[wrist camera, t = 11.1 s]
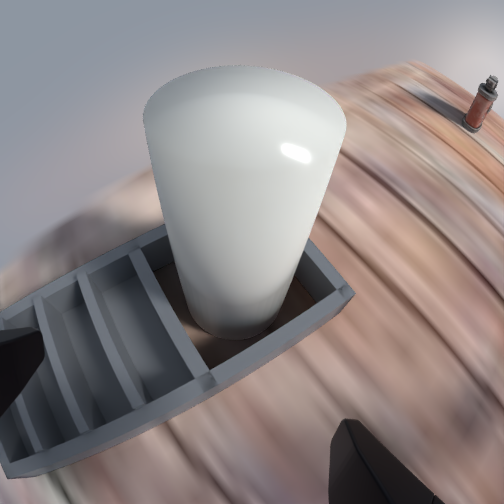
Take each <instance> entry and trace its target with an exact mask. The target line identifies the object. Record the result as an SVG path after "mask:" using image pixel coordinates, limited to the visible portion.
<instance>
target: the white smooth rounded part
mask: <svg viewBox="0 0 504 504" xmlns="http://www.w3.org/2000/svg"><path fill="white" fill-rule="evenodd" d="M143 122H144V128H145V133H146V139H147V144H148V148H149V154H150V159H151V164H152V169H153V173H154V178H155V183H156V187H157V192H158V196H159V200H160V205H161V209H162V213H163V217H164V221H165V225H166V229H167V233H168V237H169V241H170V245H171V249H172V253H173V256H174V260H175V264H176V267H177V271H178V275H179V278H180V282H181V285H182V289H183V292H184V296H185V299H186V302H187V306H188V309H189V311H190V314H191V315H192V317H193V319H194V320H195V322H196V323H197V324H198V325H199V326H200V327H201V328H202V329H204V330H205V331H206V332H208V333H210V334H211V335H214V336H216V337H219V338H223V339H228V340H241V339H247V338H251V337H253V336H256V335H258V334H260V333H261V332H263V331H264V330H266V329H267V328H268V327H269V326H270V325H271V324H272V323H273V322H274V320H275V319H276V317H277V315H278V313H279V311H280V308H281V306H282V303H283V301H284V299H285V296H286V294H287V291H288V289H289V286H290V284H291V281H292V279H293V276H294V273H295V271H296V268H297V266H298V263H299V261H300V258H301V256H302V253H303V250H304V248H305V245H306V242H307V240H308V237H309V234H310V232H311V229H312V226H313V224H314V221H315V218H316V216H317V213H318V210H319V207H320V205H321V202H322V199H323V196H324V194H325V191H326V188H327V185H328V182H329V179H330V177H331V174H332V171H333V168H334V165H335V162H336V159H337V156H338V153H339V150H340V147H341V144H342V141H343V138H344V135H345V132H346V119H345V115H344V113H343V111H342V109H341V107H340V106H339V104H338V103H337V102H336V101H335V100H334V99H333V98H332V97H331V96H330V95H329V94H328V93H327V92H325V91H324V90H323V89H321V88H320V87H318V86H317V85H315V84H313V83H311V82H309V81H307V80H305V79H303V78H301V77H298V76H295V75H293V74H289V73H286V72H283V71H279V70H275V69H270V68H264V67H256V66H240V65H238V66H219V67H212V68H206V69H202V70H197V71H194V72H191V73H188V74H185V75H183V76H180V77H178V78H175V79H173V80H172V81H170V82H168V83H167V84H165V85H163V86H162V87H161V88H159V89H158V90H157V91H156V92H155V93H154V94H153V95H152V96H151V97H150V99H149V100H148V102H147V104H146V106H145V108H144V113H143Z"/></svg>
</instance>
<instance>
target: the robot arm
mask: <svg viewBox="0 0 504 504" xmlns="http://www.w3.org/2000/svg"><path fill="white" fill-rule="evenodd" d="M44 357H45V350H44V342H43V335H42V333H41V331H39V330H37V329H35V328H34V327H24V328H16V329H7V330H0V418H1V417H2V415H3V414H4V413H5V412H6V410H7V409H8V408H9V407H10V405H11V404H12V403H13V402H14V401H15V399H16V398H17V397H18V396H19V395H20V393H21V392H22V391H23V389H24V388H25V386H26V385H27V383H28V382H29V380H30V379H31V377H32V376H33V374H34V373H35V372H36V370H37V369H38V367H39V366H40V364H41V363H42V362H43V360H44ZM328 494H329V504H445V503H444V502H443V501H442V500H440V499H439V498H438V497H437V496H436V495H434V493H433V492H432V491H431V490H430V489H428V488H427V487H426V486H425V485H424V484H423V483H422V482H421V481H420V480H419V479H418V478H417V477H416V476H415V475H414V474H413V473H412V472H410V471H409V470H408V469H407V468H406V467H405V466H404V465H403V464H402V463H401V462H400V461H399V460H398V459H397V458H396V457H395V456H394V455H393V454H392V453H391V452H390V451H389V450H388V449H387V448H386V447H385V446H384V445H383V444H382V443H381V442H380V441H379V440H378V439H377V438H376V437H375V436H374V435H373V434H372V433H371V432H370V431H369V430H368V429H367V428H366V427H365V426H364V425H363V424H362V423H361V422H360V421H359V420H356V419H343V420H342V421H341V423H340V425H339V427H338V429H337V431H336V432H335V434H334V436H333V438H332V441H331V446H330V468H329V487H328Z"/></svg>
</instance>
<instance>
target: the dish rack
mask: <svg viewBox="0 0 504 504" xmlns="http://www.w3.org/2000/svg"><path fill="white" fill-rule="evenodd" d="M173 261H175V260H174V256H173V253H172V249H171V245H170V241H169V237H168V233H167V229H166V225H165V224H164V225H162V226H160V227H157V228H155V229H153V230H151V231H149V232H147V233H145V234H143V235H141V236H139V237H137V238H135V239H133V240H131V241H129V242H127V243H125V244H123V245H121V246H119V247H117V248H115V249H113V250H111V251H109V252H107V253H105V254H103V255H101V256H99V257H97V258H95V259H93V260H92V261H90V262H88V263H86V264H84V265H82V266H80V267H78V268H76V269H75V270H73V271H71V272H69V273H67V274H65V275H64V276H62V277H60V278H58V279H56V280H54V281H53V282H51V283H49V284H47V285H46V286H44V287H42V288H40V289H39V290H37V291H35V292H33V293H32V294H30V295H28V296H26V297H25V298H23V299H21V300H20V301H18V302H16V303H14V304H13V305H11V306H9V307H8V308H6V309H5V310H3V311H1V312H0V330H7V329H16V328H24V327H34V328H35V329H37V330H39V331H41V333H42V335H43V342H44V350H45V357H44V360H43V362H42V363H41V364H40V366H39V367H38V369H37V370H36V372H35V373H34V374H33V376H32V377H31V379H30V380H29V382H28V383H27V385H26V386H25V388H24V389H23V391H22V392H21V393H20V395H19V396H18V397H17V398H16V399H15V401H14V402H13V403H12V404H11V405H10V407H9V408H8V409H7V410H6V412H5V413H4V414H3V415H2V417H1V418H0V463H1V466H2V468H3V470H4V472H5V475H6V477H7V479H16V478H28V477H36V476H39V475H42V474H45V473H47V472H50V471H53V470H56V469H59V468H61V467H64V466H67V465H69V464H72V463H75V462H77V461H80V460H82V459H85V458H87V457H90V456H92V455H94V454H97V453H99V452H101V451H104V450H106V449H108V448H111V447H113V446H115V445H117V444H120V443H122V442H124V441H126V440H128V439H131V438H133V437H135V436H137V435H139V434H141V433H143V432H145V431H147V430H149V429H151V428H153V427H155V426H157V425H159V424H161V423H163V422H165V421H167V420H169V419H171V418H173V417H175V416H177V415H179V414H181V413H183V412H184V411H186V410H188V409H190V408H192V407H194V406H195V405H197V404H199V403H201V402H203V401H204V400H206V399H208V398H210V397H212V396H213V395H215V394H217V393H219V392H220V391H222V390H224V389H225V388H227V387H229V386H230V385H232V384H234V383H235V382H237V381H239V380H240V379H242V378H244V377H245V376H247V375H249V374H250V373H252V372H253V371H255V370H257V369H258V368H260V367H261V366H263V365H265V364H266V363H268V362H269V361H271V360H272V359H274V358H275V357H277V356H279V355H280V354H282V353H283V352H285V351H286V350H288V349H289V348H291V347H292V346H294V345H295V344H297V343H298V342H299V341H301V340H302V339H304V338H305V337H307V336H308V335H310V334H311V333H312V332H314V331H315V330H317V329H318V328H320V327H321V326H322V325H324V324H325V323H327V322H328V321H329V320H331V319H332V318H333V317H335V316H336V315H337V314H339V313H340V312H341V310H342V309H343V308H344V307H345V306H346V305H347V303H348V302H349V301H350V300H351V299H352V297H353V296H354V295H355V294H356V293H355V292H354V291H353V289H352V288H351V287H350V286H349V285H348V283H347V282H346V281H345V280H344V279H343V277H342V276H341V275H340V274H339V273H338V271H337V270H336V269H335V268H334V267H333V266H332V264H331V263H330V262H329V261H328V260H327V258H326V257H325V256H324V255H323V254H322V253H321V251H320V250H319V249H318V248H317V247H316V246H315V245H314V243H313V242H312V241H311V240H310V239H309V238H308V240H307V242H306V245H305V248H304V250H303V253H302V256H301V258H300V261H299V263H298V266H297V268H296V271H295V273H294V275H295V276H296V278H297V279H298V280H299V281H300V283H301V284H302V285H303V286H304V288H305V289H306V290H307V292H308V293H309V294H310V295H311V297H312V298H313V299H314V300H315V302H316V303H317V304H315V305H314V306H313V307H311V308H310V309H308V310H307V311H305V312H304V313H302V314H301V315H299V316H297V317H296V318H294V319H293V320H291V321H290V322H288V323H287V324H285V325H284V326H282V327H281V328H279V329H277V330H276V331H274V332H273V333H271V334H270V335H268V336H266V337H265V338H263V339H262V340H260V341H258V342H257V343H255V344H253V345H252V346H250V347H249V348H247V349H245V350H244V351H242V352H240V353H239V354H237V355H235V356H234V357H232V358H230V359H228V360H227V361H225V362H223V363H222V364H220V365H218V366H216V367H215V368H213V369H211V370H209V369H208V367H207V366H206V364H205V362H204V361H203V359H202V358H201V356H200V354H199V353H198V351H197V349H196V348H195V346H194V345H193V343H192V341H191V340H190V338H189V336H188V335H187V333H186V331H185V329H184V328H183V326H182V324H181V323H180V321H179V319H178V317H177V316H176V314H175V312H174V310H173V309H172V307H171V305H170V303H169V302H168V300H167V298H166V296H165V294H164V292H163V291H162V289H161V287H160V285H159V283H158V281H157V280H156V278H155V276H154V274H153V272H154V271H156V270H158V269H159V268H161V267H163V266H165V265H167V264H169V263H171V262H173Z"/></svg>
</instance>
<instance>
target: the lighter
mask: <svg viewBox="0 0 504 504" xmlns="http://www.w3.org/2000/svg"><path fill="white" fill-rule="evenodd" d="M497 83H498V80H497V77H495V76H491V75H490V77H489V79H487V80H486V84H485V83H481V84H480V86H479V88H478V93H477V95H476V97H475V99H474V101H473V103H472V105H471V107H470V109H469V111H468V113H467V114H465V116H464V118H463V120H462V125H463V127H464V128H465V129H467V130H468V131H469V132H471V133H477V132H478V131H479V130H480V128H481V126H482V122H483V120H484V118H485V117H486V115H487V113H489V112H490V110H491V108H492V106H493V102H494V101H495V100H496V98H497V96H498V94H497V92H496V91H495V88H496V87H497Z"/></svg>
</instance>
